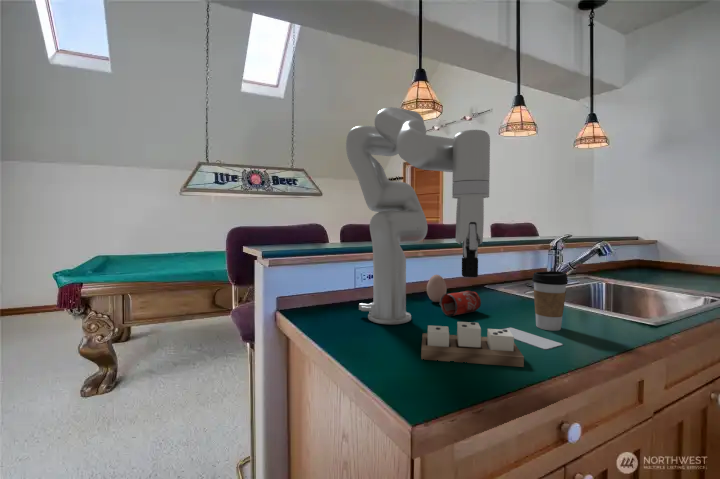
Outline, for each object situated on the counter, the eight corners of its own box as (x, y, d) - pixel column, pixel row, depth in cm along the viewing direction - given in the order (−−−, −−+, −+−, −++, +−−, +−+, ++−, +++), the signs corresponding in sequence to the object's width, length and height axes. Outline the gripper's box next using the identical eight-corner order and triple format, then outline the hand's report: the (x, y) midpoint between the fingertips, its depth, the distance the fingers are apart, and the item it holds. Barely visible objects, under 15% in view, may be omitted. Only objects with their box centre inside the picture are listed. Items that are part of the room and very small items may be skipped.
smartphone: (510, 326, 95) (564, 344, 82) (509, 328, 95) (564, 346, 82) (491, 330, 92) (545, 349, 79) (491, 332, 92) (545, 351, 79)
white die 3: (490, 353, 74) (490, 334, 74) (487, 346, 79) (487, 327, 78) (513, 355, 73) (513, 335, 73) (508, 347, 78) (509, 328, 78)
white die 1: (427, 349, 77) (427, 330, 77) (427, 342, 81) (427, 324, 81) (448, 351, 76) (449, 331, 76) (447, 343, 80) (448, 325, 80)
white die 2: (458, 346, 76) (458, 326, 75) (457, 339, 80) (457, 320, 80) (480, 347, 75) (481, 327, 74) (477, 340, 79) (478, 321, 79)
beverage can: (483, 313, 110) (484, 292, 110) (455, 318, 104) (456, 296, 104) (466, 308, 116) (466, 288, 116) (438, 313, 110) (439, 292, 110)
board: (421, 359, 74) (421, 349, 74) (422, 341, 85) (422, 333, 85) (523, 367, 70) (523, 357, 70) (511, 347, 81) (511, 338, 81)
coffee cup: (571, 333, 90) (573, 275, 90) (535, 331, 92) (537, 274, 91) (559, 323, 99) (561, 270, 98) (527, 321, 100) (528, 269, 99)
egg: (443, 305, 120) (443, 276, 119) (423, 302, 123) (424, 275, 123) (448, 301, 126) (449, 274, 125) (430, 299, 129) (430, 272, 128)
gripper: (450, 193, 83) (450, 271, 84) (454, 188, 69) (453, 282, 70) (484, 193, 82) (483, 271, 83) (495, 187, 67) (493, 283, 68)
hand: (469, 276), depth 76 cm, fingers closed
